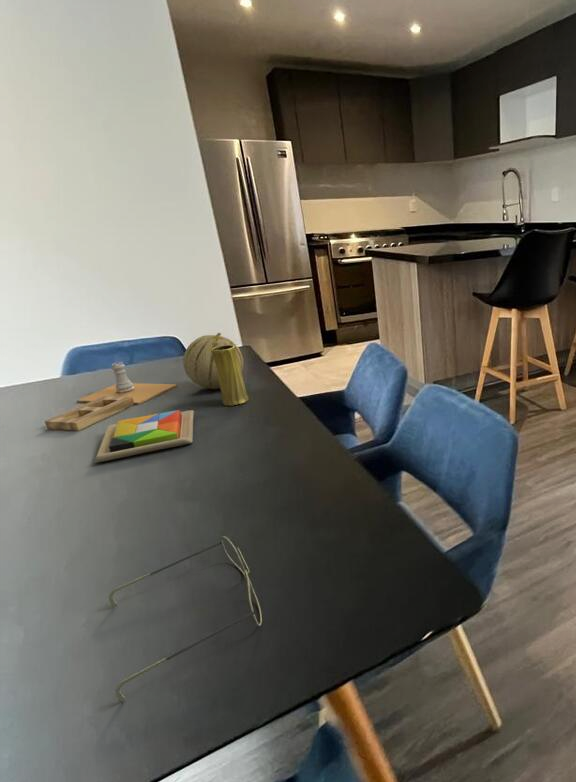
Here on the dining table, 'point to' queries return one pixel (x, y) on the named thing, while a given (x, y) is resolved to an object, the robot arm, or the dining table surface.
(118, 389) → the rook chess piece
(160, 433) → the wooden puzzle
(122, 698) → the eyeglasses
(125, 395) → the cork mat
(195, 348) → the cantaloupe
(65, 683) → the dining table surface
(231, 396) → the vase
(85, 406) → the holder
